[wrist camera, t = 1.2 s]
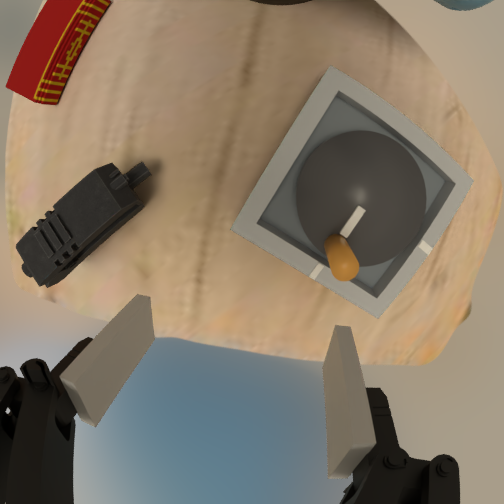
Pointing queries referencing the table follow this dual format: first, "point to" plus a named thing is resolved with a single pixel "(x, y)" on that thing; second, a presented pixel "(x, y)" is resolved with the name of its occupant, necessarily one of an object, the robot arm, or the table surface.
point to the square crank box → (288, 169)
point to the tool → (80, 222)
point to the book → (53, 48)
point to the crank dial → (360, 200)
